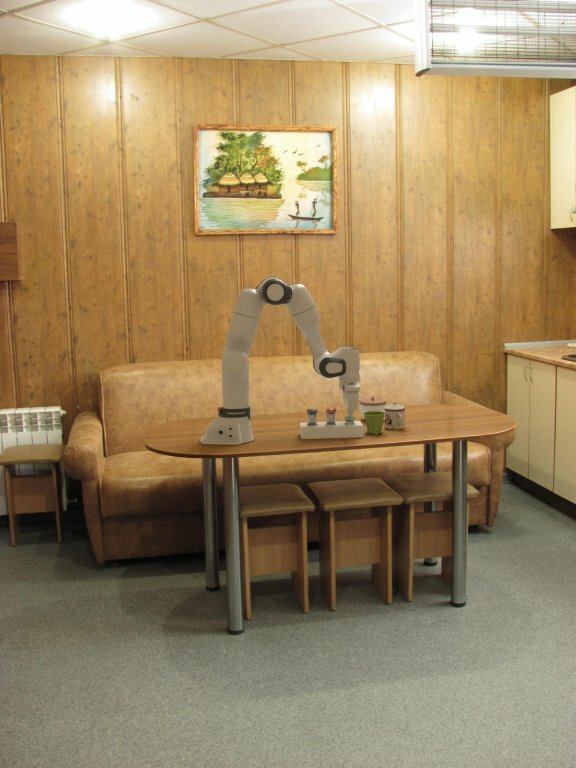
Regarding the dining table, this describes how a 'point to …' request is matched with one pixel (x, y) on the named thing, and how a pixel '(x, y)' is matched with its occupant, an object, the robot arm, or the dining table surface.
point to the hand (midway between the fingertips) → (350, 416)
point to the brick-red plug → (330, 415)
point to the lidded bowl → (372, 405)
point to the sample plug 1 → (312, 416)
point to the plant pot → (374, 421)
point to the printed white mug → (394, 416)
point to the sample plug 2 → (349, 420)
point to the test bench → (331, 430)
